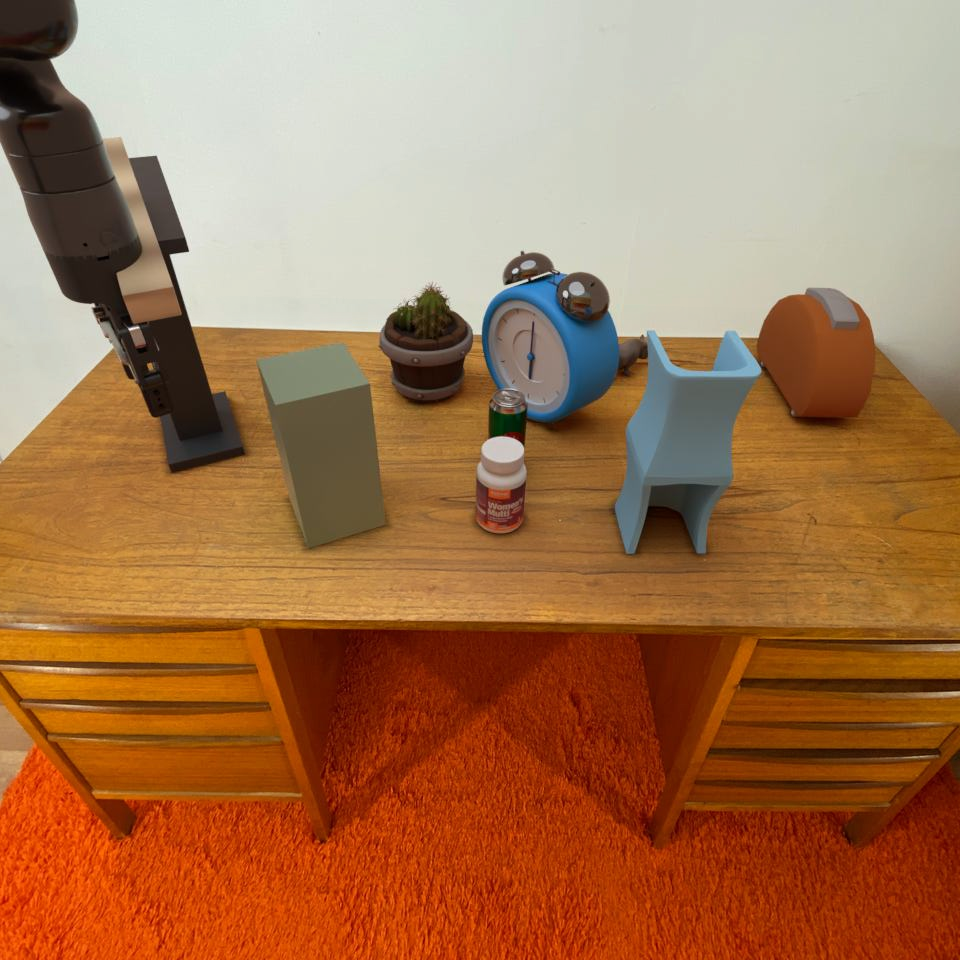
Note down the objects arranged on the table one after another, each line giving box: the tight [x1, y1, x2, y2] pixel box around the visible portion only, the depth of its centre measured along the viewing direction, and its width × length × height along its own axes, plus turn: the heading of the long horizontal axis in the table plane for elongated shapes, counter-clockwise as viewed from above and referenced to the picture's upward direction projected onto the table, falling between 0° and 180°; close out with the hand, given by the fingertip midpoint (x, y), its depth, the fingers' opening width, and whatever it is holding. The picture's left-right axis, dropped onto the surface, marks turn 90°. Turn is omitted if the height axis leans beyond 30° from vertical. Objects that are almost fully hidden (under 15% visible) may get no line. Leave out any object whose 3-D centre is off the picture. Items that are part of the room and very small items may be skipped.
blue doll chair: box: [614, 329, 762, 555], centre depth 74 cm, size 10×10×25 cm
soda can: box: [487, 389, 528, 451], centre depth 86 cm, size 5×5×12 cm
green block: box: [256, 341, 387, 550], centre depth 76 cm, size 10×10×21 cm
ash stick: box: [102, 136, 182, 324], centre depth 62 cm, size 28×4×3 cm, turn 27°
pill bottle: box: [475, 437, 528, 534], centre depth 79 cm, size 6×6×11 cm
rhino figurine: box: [618, 334, 648, 377], centre depth 109 cm, size 4×14×6 cm, turn 123°
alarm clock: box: [481, 250, 620, 431], centre depth 95 cm, size 20×10×23 cm, turn 41°
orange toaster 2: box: [756, 287, 877, 419], centre depth 102 cm, size 23×9×17 cm, turn 179°
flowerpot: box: [377, 281, 474, 404], centre depth 100 cm, size 14×15×20 cm
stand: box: [128, 155, 246, 474], centre depth 85 cm, size 34×10×34 cm, turn 26°
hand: (150, 394), depth 66 cm, fingers open, 8 cm apart
